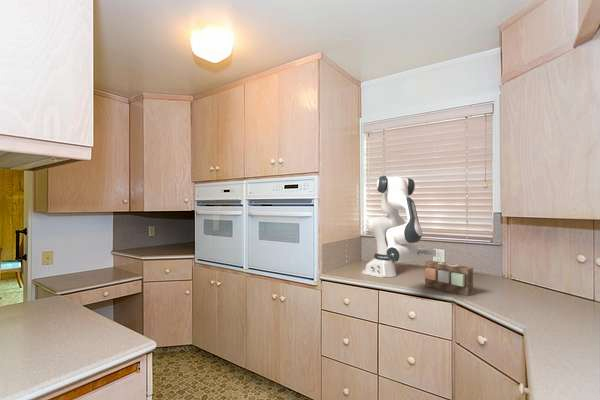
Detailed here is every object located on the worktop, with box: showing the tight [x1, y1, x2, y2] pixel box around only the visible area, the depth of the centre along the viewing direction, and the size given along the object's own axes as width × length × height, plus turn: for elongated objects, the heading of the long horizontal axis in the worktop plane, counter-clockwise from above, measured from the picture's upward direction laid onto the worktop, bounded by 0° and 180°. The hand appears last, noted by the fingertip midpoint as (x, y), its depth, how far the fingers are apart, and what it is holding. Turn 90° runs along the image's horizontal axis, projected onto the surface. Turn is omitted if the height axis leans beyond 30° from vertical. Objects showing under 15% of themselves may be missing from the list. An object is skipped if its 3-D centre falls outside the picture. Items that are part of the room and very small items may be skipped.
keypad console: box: [424, 260, 474, 297], centre depth 174 cm, size 24×6×15 cm, turn 37°
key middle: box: [438, 269, 452, 283], centre depth 172 cm, size 6×4×6 cm
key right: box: [451, 272, 466, 287], centre depth 166 cm, size 6×4×6 cm
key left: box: [424, 267, 438, 280], centre depth 178 cm, size 6×4×6 cm
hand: (422, 250), depth 170 cm, fingers open, 8 cm apart
